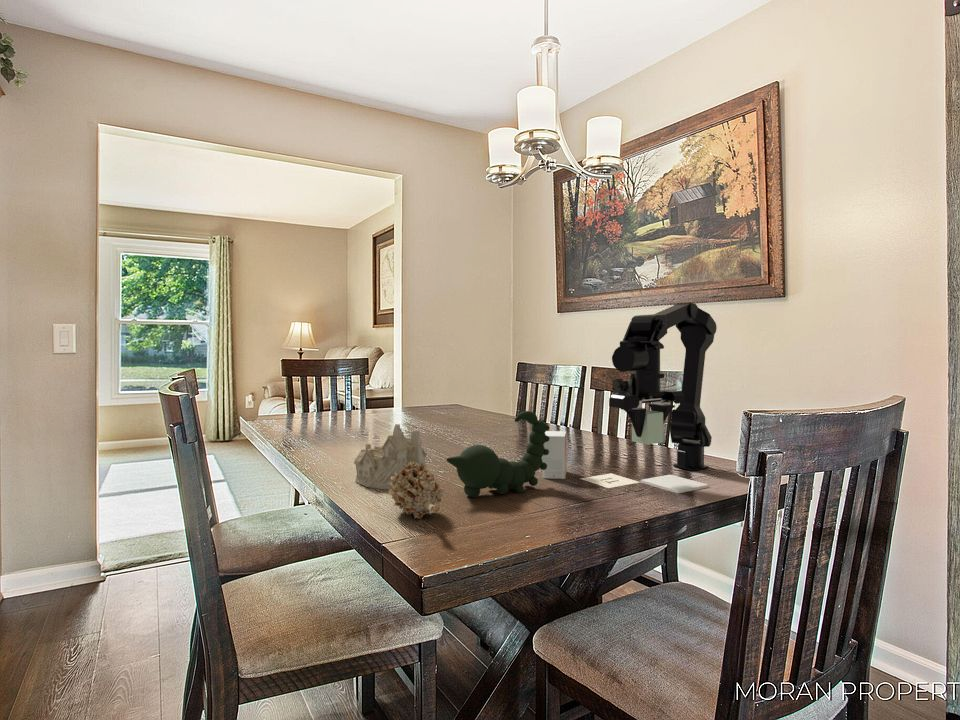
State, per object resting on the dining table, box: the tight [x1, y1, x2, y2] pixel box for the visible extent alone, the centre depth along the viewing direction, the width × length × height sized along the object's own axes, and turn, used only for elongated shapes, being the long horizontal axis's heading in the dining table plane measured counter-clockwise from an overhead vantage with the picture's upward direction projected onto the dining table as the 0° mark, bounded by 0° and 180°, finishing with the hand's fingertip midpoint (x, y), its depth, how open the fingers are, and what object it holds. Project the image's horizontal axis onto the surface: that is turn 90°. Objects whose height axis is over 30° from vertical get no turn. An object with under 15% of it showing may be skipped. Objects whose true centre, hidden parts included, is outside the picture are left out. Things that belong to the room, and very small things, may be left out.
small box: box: [542, 430, 568, 480], centre depth 141 cm, size 8×6×10 cm
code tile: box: [579, 472, 641, 489], centre depth 135 cm, size 10×10×1 cm
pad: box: [640, 474, 709, 494], centre depth 131 cm, size 10×11×1 cm
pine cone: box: [387, 461, 444, 520], centre depth 107 cm, size 22×10×10 cm, turn 27°
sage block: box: [631, 409, 664, 446], centre depth 132 cm, size 5×5×7 cm
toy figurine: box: [445, 410, 550, 499], centre depth 125 cm, size 9×19×25 cm
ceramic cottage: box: [353, 423, 431, 491], centre depth 137 cm, size 16×16×15 cm
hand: (647, 435), depth 132 cm, fingers closed on sage block, 5 cm apart
